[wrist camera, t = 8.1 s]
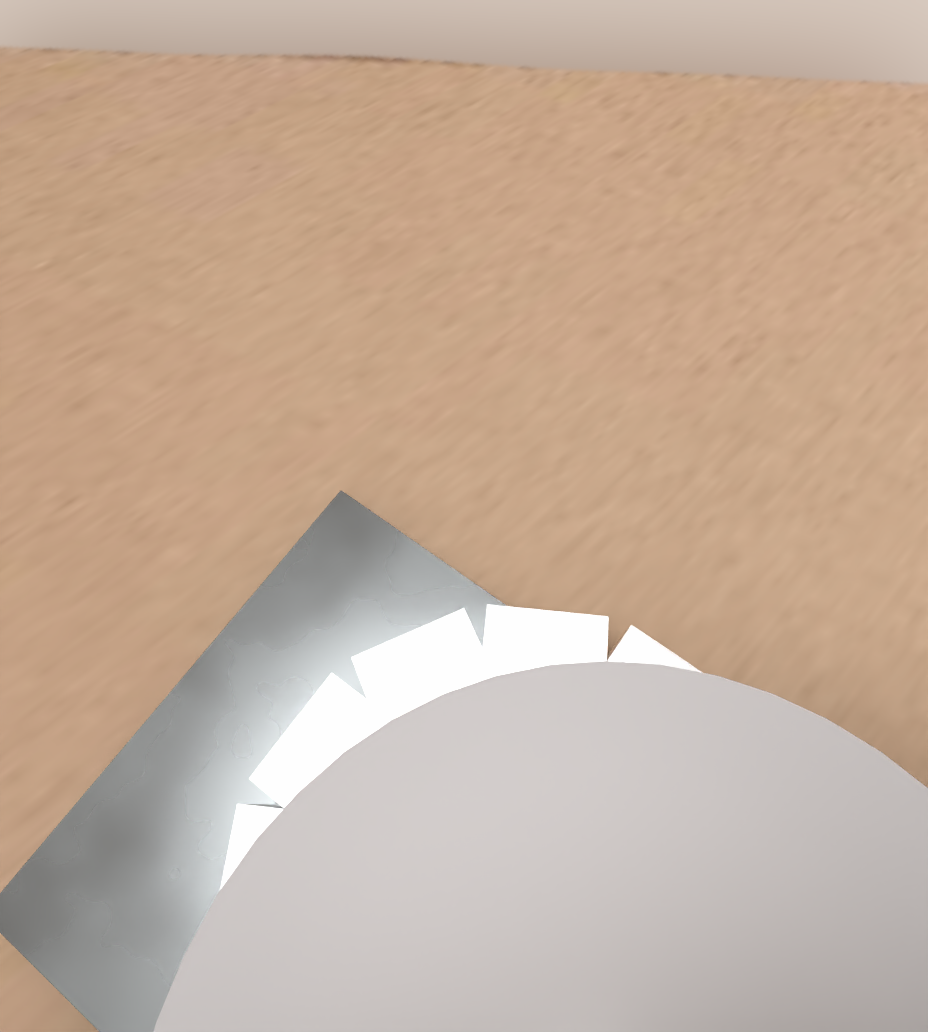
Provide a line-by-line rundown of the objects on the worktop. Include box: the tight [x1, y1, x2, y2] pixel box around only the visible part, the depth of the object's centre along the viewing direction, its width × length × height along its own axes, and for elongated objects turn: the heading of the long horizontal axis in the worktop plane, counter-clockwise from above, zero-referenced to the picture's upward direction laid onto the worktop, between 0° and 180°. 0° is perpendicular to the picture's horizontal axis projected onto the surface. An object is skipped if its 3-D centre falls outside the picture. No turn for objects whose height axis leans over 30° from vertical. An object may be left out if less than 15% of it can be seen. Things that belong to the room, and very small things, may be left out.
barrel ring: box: [0, 491, 702, 1032], centre depth 15 cm, size 16×13×3 cm
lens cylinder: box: [154, 661, 928, 1032], centre depth 9 cm, size 5×5×11 cm
